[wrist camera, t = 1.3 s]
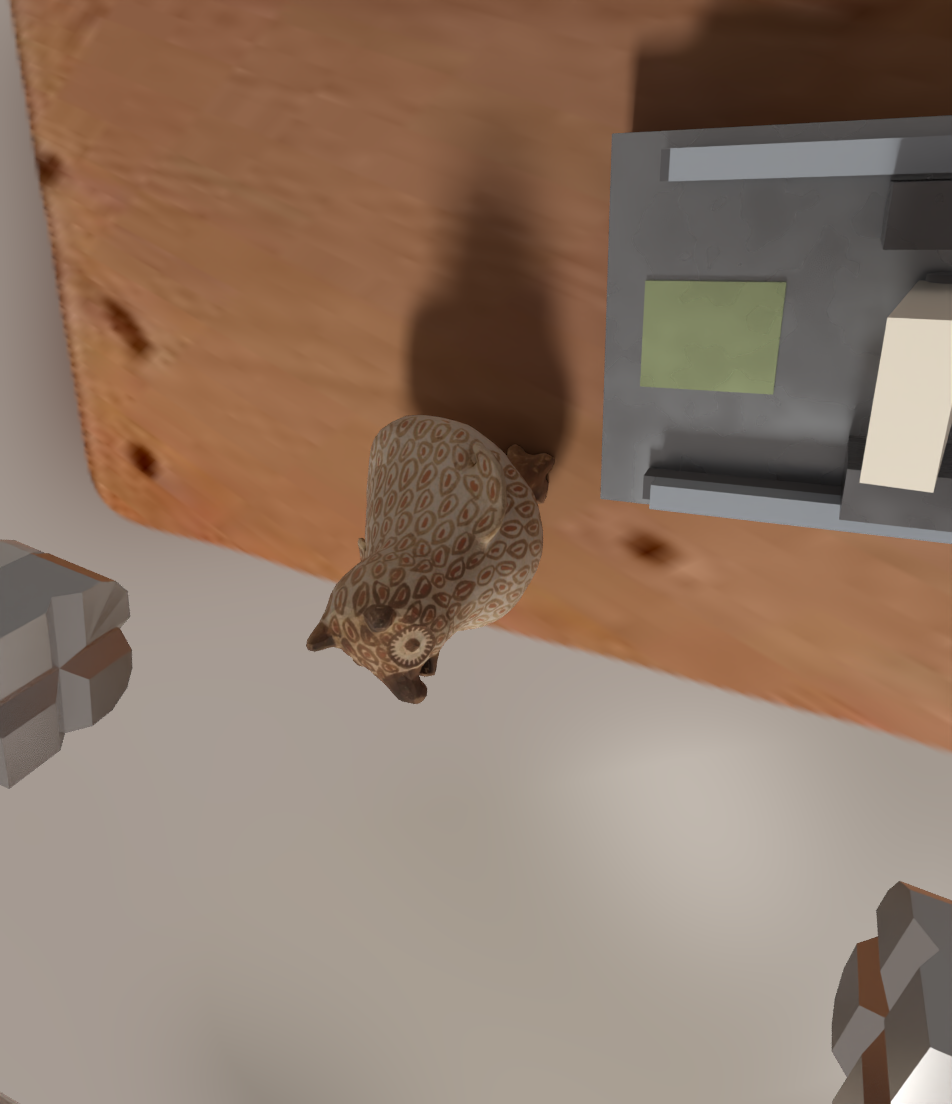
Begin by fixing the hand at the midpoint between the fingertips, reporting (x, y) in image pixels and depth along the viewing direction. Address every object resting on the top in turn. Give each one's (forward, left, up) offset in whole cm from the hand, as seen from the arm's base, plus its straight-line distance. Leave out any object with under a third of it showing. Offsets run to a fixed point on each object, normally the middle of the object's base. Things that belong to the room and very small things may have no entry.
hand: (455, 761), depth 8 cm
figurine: (+12, +8, -30) cm, 33 cm away
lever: (-6, 0, -25) cm, 26 cm away
